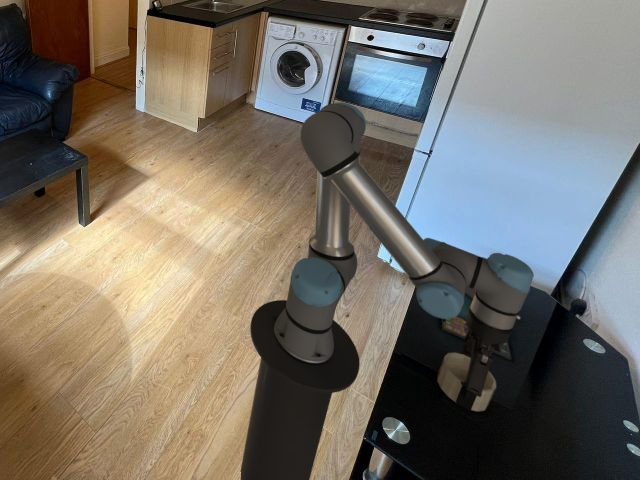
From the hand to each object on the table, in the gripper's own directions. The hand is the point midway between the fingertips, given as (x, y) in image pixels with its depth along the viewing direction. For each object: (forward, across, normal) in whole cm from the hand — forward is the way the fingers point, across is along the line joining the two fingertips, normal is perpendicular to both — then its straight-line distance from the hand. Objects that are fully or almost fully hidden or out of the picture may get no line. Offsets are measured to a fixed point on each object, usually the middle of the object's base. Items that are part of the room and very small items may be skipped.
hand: (462, 388), depth 99 cm
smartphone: (+1, +24, -3) cm, 24 cm away
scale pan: (-2, +41, -5) cm, 41 cm away
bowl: (+1, 0, 0) cm, 1 cm away
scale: (+1, +38, -5) cm, 38 cm away
